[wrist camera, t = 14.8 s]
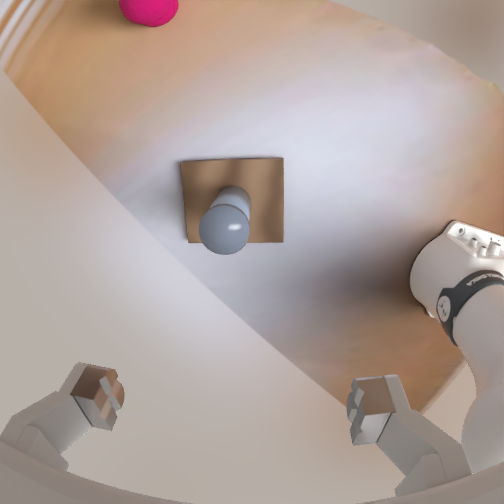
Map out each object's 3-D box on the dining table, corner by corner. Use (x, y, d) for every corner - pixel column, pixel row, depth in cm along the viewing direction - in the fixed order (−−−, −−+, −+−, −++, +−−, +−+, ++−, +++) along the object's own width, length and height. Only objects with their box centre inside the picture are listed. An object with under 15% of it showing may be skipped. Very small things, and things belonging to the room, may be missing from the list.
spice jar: (251, 183, 42) (247, 205, 32) (253, 220, 45) (250, 253, 34) (212, 185, 43) (195, 208, 33) (216, 222, 45) (201, 255, 35)
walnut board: (283, 157, 42) (283, 159, 41) (282, 238, 47) (283, 242, 46) (183, 161, 43) (180, 162, 42) (190, 238, 48) (188, 242, 47)
